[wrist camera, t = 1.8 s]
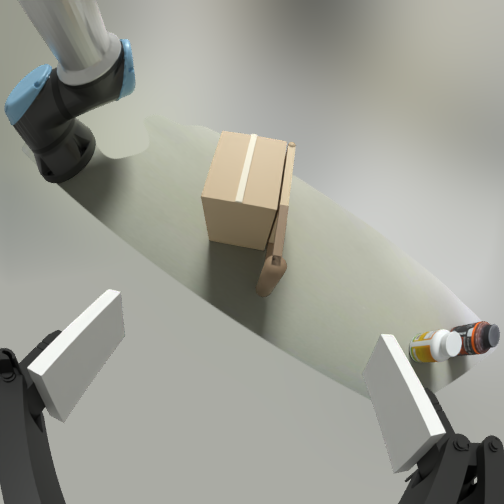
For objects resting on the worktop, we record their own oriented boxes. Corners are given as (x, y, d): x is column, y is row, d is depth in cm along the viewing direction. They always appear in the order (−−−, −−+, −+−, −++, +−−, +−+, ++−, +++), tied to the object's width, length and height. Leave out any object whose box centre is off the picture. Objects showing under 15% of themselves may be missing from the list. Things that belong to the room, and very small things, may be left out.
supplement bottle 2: (441, 340, 42) (482, 334, 31) (456, 321, 43) (495, 310, 32) (452, 362, 40) (492, 359, 30) (467, 342, 42) (505, 335, 31)
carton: (223, 184, 49) (222, 129, 36) (273, 193, 49) (287, 140, 36) (209, 240, 45) (200, 195, 32) (263, 250, 45) (277, 208, 32)
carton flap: (271, 189, 49) (284, 138, 36) (285, 192, 49) (301, 142, 36) (253, 297, 42) (262, 274, 29) (268, 300, 42) (285, 278, 29)
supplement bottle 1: (425, 365, 40) (460, 364, 31) (405, 358, 40) (439, 357, 31) (432, 337, 42) (467, 331, 33) (412, 330, 42) (446, 323, 33)
